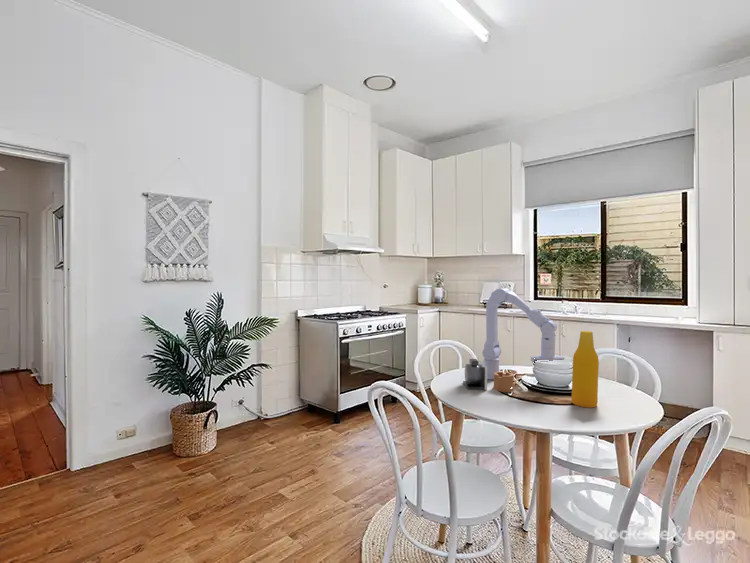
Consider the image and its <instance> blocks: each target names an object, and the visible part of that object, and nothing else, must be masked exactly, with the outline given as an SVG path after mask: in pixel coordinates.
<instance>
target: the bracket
mask: <svg viewBox="0 0 750 563" xmlns="http://www.w3.org/2000/svg"><path fill="white" fill-rule="evenodd" d="M514 377H515V376H514V374H513V373H512V372H508V371H505V373H504V371H499V372H495V373H494V379H493V389H494V391H497V392H502V393H510V392H513V391H515V389H516V388H517V387H518V386H519V383H518V384H517V385H516V386H515V384H516V382H513V381H514ZM516 378H517V381H518V382H519V380H520V379H519V378H518V377H516ZM511 387H514V388H513V389H510V388H511Z"/></svg>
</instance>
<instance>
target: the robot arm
mask: <svg viewBox="0 0 750 563" xmlns="http://www.w3.org/2000/svg"><path fill="white" fill-rule="evenodd" d="M503 303H507V304H513V305H514V306H515V307H517V308H519V309H520V310H521V311H522V312H524V313H525V314H526V316H527V319H528V320H529V321H531V322H532V323H533V324H534V325H535V326H536V327H537V328H539V330H540V332H541V338H540V339H541V340H540V342H541V344H540V345H541V346H540V355H536V356H530V361H531V362H532V364H533V362H534V363H535V361H537V360H549V361H553V360H564V359H565V357H563V356H556V352H555V351H556V332H555V331H557V328H558V327H557V324H556V322H555V321H554V320H552V319H550V318H549V317H547V316H546V315H544V314H543V313H542V310H540V309H537V308H532V307H530V306H529V304H527V303H526V302H525V301H524V300H523V299H522V298H521V297H519V296H518V295H517V293H515V292H514V291H511V289H509V288H507V287H502V288H496V289H495V290H493V291H492V292H491V294H490V296H489V299H488V300H487V302H486V305H485V306H486V308H485V309H486V310H485V311H486V314H485V317H486V323H485V324H486V325H485V326H486V331H485V332H486V333H485V334H486V338H485V339H486V340H485V342H484V345H483V349H482V356H483V361H482V363H483V364H484V365H485V366H486V367H487V380H494V373H495V372H500V357H499V356H501V354H502V349H501V347H500V341H499V339H498V328H499V327H498V307H500V306H502V304H503ZM555 356H556V357H555ZM534 358H535V359H534Z"/></svg>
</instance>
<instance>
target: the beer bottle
mask: <svg viewBox="0 0 750 563" xmlns="http://www.w3.org/2000/svg"><path fill="white" fill-rule="evenodd" d="M593 333H594V332H593V331H592V330H591V331H590V330H580V333H579V341H578V346H577V348H576V349H575V352H574V354H573V355H572V356H573V357H572V377H571V378H572V379H571V380H572V381H571V402H572V404H573V405H575V406H578V407H581V408H591V409H592V408H595V407H597V405H598V402H599V401H598V400H599V397H598V394H599V392H598V391H599V369H600V368H599V365H600V360H599V356H598V353H597V351H596V349H595V344H594V334H593Z"/></svg>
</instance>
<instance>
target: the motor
mask: <svg viewBox="0 0 750 563" xmlns="http://www.w3.org/2000/svg"><path fill="white" fill-rule="evenodd" d="M462 384H463V385H464V386H465V387H466V389H467V390H469V391H470V390H471V391H472V390H475V391H476V390H478V391H480V390H482V391H483V390H484V391H487V390H488V379H487V367H486V366H485V365H484V364H483V361H480V360H478V359H477V358H469V362H468V363H466V364H465V366H464V380H463V382H462Z"/></svg>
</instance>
